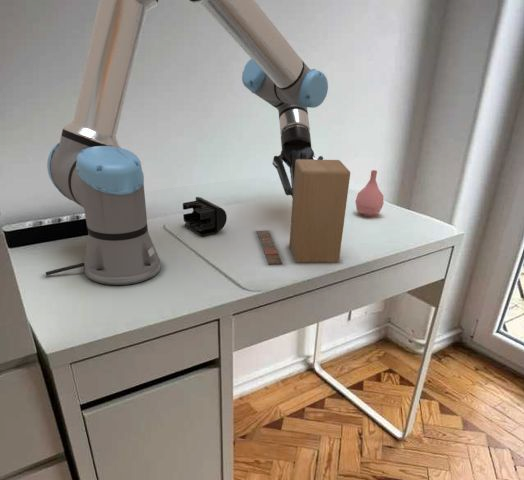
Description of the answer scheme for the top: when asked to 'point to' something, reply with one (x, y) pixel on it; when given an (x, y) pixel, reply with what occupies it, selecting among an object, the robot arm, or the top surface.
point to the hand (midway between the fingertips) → (303, 219)
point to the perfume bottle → (370, 197)
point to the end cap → (204, 217)
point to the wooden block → (318, 209)
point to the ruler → (269, 248)
